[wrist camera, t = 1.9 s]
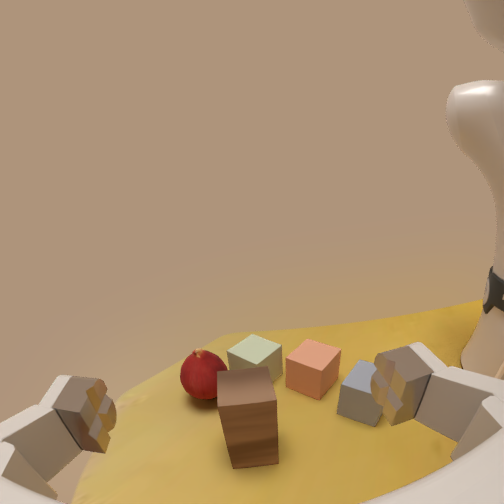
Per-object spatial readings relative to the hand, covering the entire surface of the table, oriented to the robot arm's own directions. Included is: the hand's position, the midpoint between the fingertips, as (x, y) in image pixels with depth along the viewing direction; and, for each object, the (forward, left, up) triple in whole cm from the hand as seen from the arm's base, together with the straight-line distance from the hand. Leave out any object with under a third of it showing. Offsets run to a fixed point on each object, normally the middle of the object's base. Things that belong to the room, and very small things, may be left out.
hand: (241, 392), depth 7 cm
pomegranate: (+19, -11, -21) cm, 30 cm away
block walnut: (+9, -8, -20) cm, 24 cm away
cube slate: (+2, -20, -20) cm, 29 cm away
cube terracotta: (+10, -21, -20) cm, 31 cm away
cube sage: (+17, -18, -20) cm, 32 cm away
